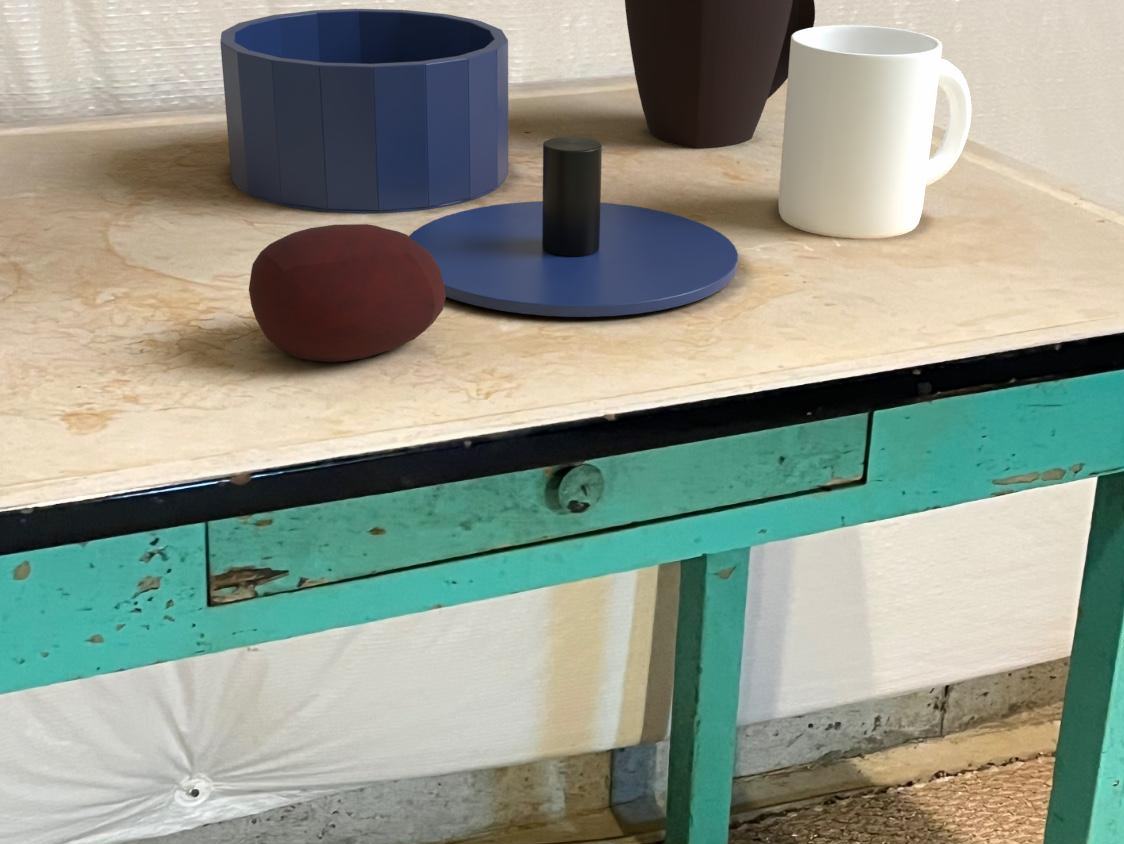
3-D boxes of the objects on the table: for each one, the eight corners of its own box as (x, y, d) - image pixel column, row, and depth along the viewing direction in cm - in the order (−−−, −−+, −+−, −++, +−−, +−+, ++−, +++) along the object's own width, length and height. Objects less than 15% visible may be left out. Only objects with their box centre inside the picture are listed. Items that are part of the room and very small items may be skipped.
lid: (334, 284, 87) (327, 153, 83) (519, 203, 100) (519, 88, 97) (634, 355, 79) (639, 214, 76) (791, 257, 93) (801, 133, 89)
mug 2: (916, 190, 105) (937, 16, 100) (1001, 228, 98) (1028, 44, 93) (750, 211, 100) (762, 30, 95) (827, 252, 93) (845, 59, 88)
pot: (172, 188, 101) (158, 41, 97) (347, 131, 114) (340, -2, 110) (399, 237, 94) (394, 80, 90) (558, 170, 107) (560, 30, 103)
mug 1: (596, 134, 115) (600, -54, 109) (748, 108, 122) (760, -69, 116) (691, 168, 108) (702, -31, 102) (846, 138, 115) (864, -49, 110)
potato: (249, 332, 81) (239, 207, 78) (436, 320, 83) (433, 198, 80) (260, 391, 74) (249, 258, 71) (462, 378, 76) (460, 247, 73)
